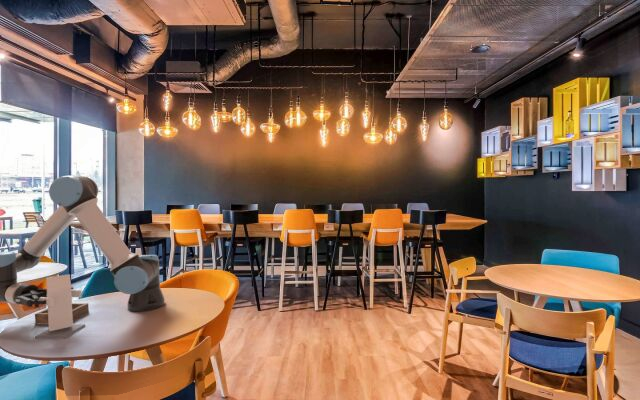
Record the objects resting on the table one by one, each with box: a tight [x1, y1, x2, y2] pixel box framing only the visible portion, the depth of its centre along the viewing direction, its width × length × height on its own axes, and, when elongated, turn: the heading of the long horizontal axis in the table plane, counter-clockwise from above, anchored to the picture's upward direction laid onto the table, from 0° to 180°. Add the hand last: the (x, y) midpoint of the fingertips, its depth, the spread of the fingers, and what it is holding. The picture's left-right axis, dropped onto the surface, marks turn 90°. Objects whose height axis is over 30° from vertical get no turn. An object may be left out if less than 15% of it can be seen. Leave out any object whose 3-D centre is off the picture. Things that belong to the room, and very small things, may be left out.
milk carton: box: [46, 274, 74, 331], centre depth 138 cm, size 7×7×19 cm
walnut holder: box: [34, 302, 90, 325], centre depth 153 cm, size 13×13×4 cm
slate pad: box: [34, 323, 86, 339], centre depth 138 cm, size 11×11×1 cm
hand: (68, 297), depth 136 cm, fingers closed on milk carton, 10 cm apart
